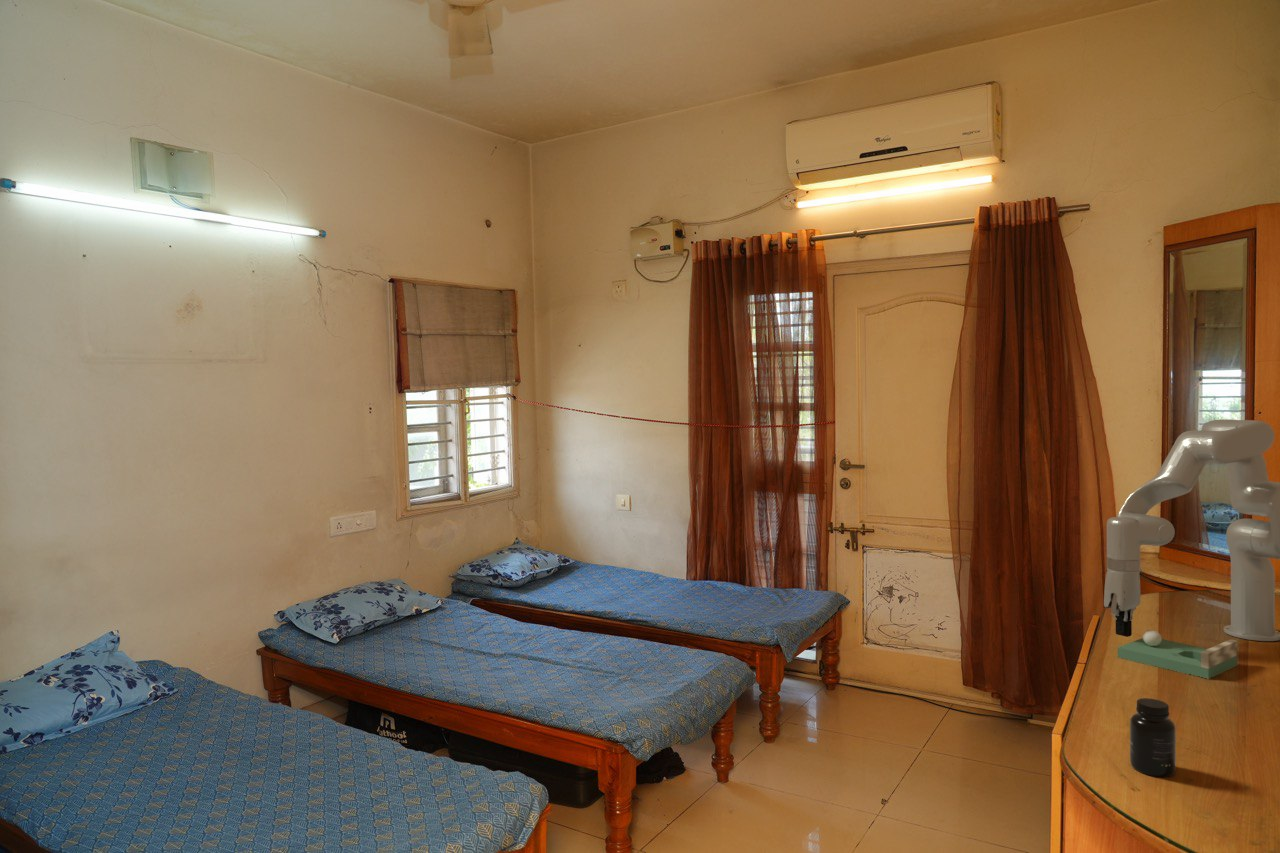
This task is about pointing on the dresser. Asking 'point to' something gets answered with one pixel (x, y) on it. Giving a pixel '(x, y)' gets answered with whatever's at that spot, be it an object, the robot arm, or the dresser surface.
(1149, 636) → the ball
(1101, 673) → the dresser surface
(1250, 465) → the robot arm
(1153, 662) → the putting green
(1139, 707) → the supplement bottle
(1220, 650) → the backboard
